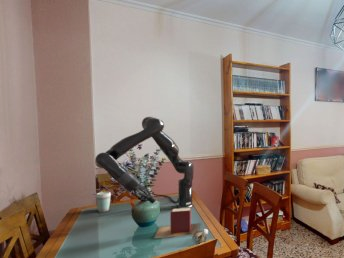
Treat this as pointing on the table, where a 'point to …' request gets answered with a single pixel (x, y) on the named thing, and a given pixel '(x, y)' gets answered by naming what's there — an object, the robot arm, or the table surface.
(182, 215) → the book
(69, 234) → the table surface
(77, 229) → the table surface
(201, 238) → the eagle figurine
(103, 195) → the coffee cup
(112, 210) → the table surface
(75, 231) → the table surface
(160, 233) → the mat
